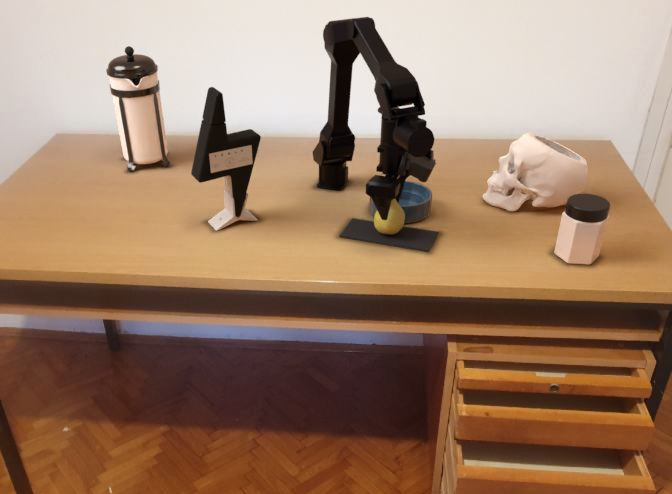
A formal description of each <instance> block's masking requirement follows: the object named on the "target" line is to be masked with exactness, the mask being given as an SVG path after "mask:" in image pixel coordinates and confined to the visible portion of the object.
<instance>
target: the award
mask: <svg viewBox="0 0 672 494" xmlns="http://www.w3.org/2000/svg"><path fill="white" fill-rule="evenodd" d="M224 103H225V102H224V95H223V92H221V91H219V89H216V88H215V87H214V86H210V87H208V89H207V93H206V97H205V103H204V107H203V112H202V116H201V117H202V120H201V123H200V128H199V132H198V138H197V142H196V147H195V152H194V157H193V163H192V167H191V176H192V177H193V178H194V179H195V180H196V181H197V182H198V183H205V182H209V181H213V180H217V179H220V178H224V183H225V184H224V185H225V189H223V200H224V201H223V202H224V207H223V209H221V210H220V211H219V212H217V213H216V214H215V215H214V216H213V217H211V218H210V219H209V220H208V221H207V223H208V224H209V225H210V226H211V227H212V228H213V229H214V230H215V232H217V231H220V230H222V229H225V228H226V227H227V226H229V225H231V224H234V223H236V222H238V221H253V222H257V221H259V219H258V218H257V217H255V216H254V215H253V214H252V213H251V211H250V210H247V209H246V205H247V202H248V197H249V193H248V188H249V184H250V180H251V176H252V173H253V170H254V165H255V162H256V158H257V155H258V151H259V146H260V143H261V139H262V137H261V135H260V134H259V133H257V132H256V131H254V130H253V129H251V128H249V129H245V130H240V131H235V132H229V133H228V131H227V129H228V127H227V123H226V122H227V120H226V111H225V104H224Z"/></svg>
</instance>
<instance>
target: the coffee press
mask: <svg viewBox="0 0 672 494" xmlns="http://www.w3.org/2000/svg"><path fill="white" fill-rule="evenodd" d="M124 53H125V54H124V55H119V56H117V57H114V58H113V59H111V60H110V61H109V63H108V64H107V68H106V70H105V71H106V75H107V77H108V80H109V90H110V94H111V95H112V101H113V107H114V112H115V113H114V114H115V118H116V124H117V129H118V134H119V140H120V145H121V150H122V155H123V158H124V159H125V161H127V171H128V172H132V173H133V172H135V170H136V168H137V166H138V165H149V164H154V163H160V164H161V165H162V166H163V167H164V168H167V167H169V166H171V161H170V160H169V159H168V157H167V155H168V153H169V151H168V142H167V135H166V128H165V120H164V114H163V113H164V112H163V106H162V100H161V92H160V90H161V85H160V80H159V79H158V78H159V77H158V71H159V66H158V64H156V62H155V61H154V59H153V58H151V57H150V56H148V55H145V54H139V53H138V54H136V53H135V49H134V47H132V46H130V45H129V46H126V47H125V48H124Z"/></svg>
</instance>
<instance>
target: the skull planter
mask: <svg viewBox="0 0 672 494" xmlns="http://www.w3.org/2000/svg"><path fill="white" fill-rule="evenodd" d="M497 160H498V163H499V166H498V169H497V170H493V171H492V172H493V173H492V175H491V176H490V177H489V178H488V179H487V180H486V184H487V186H488V187H487V190H486V191H485V192H484V193H483V194H482V197H481V198H482V200H483V201H484V202H486V204H489V205H490V206H492V207H496V208H499V209H504V210H506V211H508V212H516V211H517V210H519V209H520V208H521V207H522V205H523V204H524V203H525V202H526V201H528V200H531V201H532V202H531V205H532V206H533V207H535V208H542V207H543V208H557V207H560V206H566V202H567V200H568V198H569V197H570V196H572V195H575V194H582V191H583V190H584V189H585V186H586V185H587V183H588V179H589V166H588V162H587V160H586V158H584V157H583V156H581V155H580V154H578V153H577V152H575V151H573V150H572V149H570V148H568V147H566V146H564V145H563V144H561V143H558V142H557V141H554V140H553V139H550V138H548V137H545V136H543V135H540V134H537V133H535V132H526V133H523V134H522V135H521V136H520V137H519V138H517V139H516V140H513V141H512V142H511V143H510V145H509V149H508V153H507V154H506V155H502V156H499V158H498V159H497ZM521 191H523V192H524V193H521Z"/></svg>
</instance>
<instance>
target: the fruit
mask: <svg viewBox="0 0 672 494" xmlns="http://www.w3.org/2000/svg"><path fill="white" fill-rule="evenodd" d="M404 221H405V213H404V211H403V209H402V208H401V207H400V205H399V204H398V203H397V201H396V199H393V200H392V201H391V206H390V210H389V214H388V218H387V220H382V219H381V217H380V215H379V213H378V210H377V211H376V213H375V216H373V222H374V225H375V228H376V230H377V231H378V232H380V233H382V234H388V235H393V234H396V233H398V232H399V231H400V230H401V229H402V227H403V226H404V225H405V223H404Z"/></svg>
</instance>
